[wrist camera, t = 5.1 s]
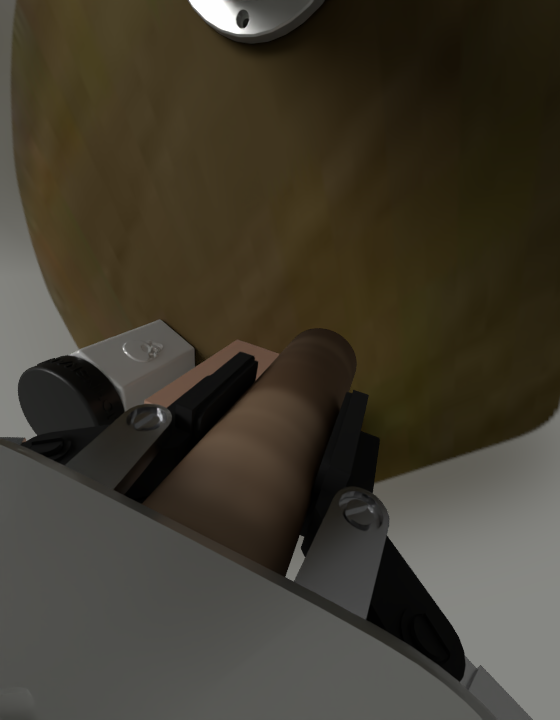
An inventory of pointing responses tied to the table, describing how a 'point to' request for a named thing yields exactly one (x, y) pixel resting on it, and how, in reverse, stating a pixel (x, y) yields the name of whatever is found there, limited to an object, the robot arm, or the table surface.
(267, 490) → the stick
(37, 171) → the table surface
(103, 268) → the table surface
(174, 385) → the tile
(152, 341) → the jar
